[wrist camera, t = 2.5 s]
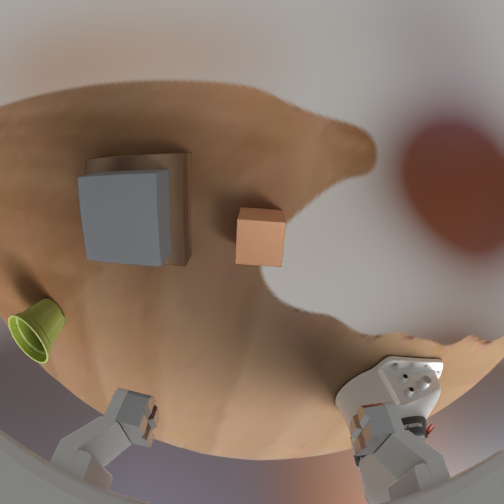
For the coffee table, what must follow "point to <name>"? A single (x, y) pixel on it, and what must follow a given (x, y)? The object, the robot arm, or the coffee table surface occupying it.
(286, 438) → the coffee table surface
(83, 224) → the upper tower block
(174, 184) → the lower tower block
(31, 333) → the plant pot
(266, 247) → the rust cube
